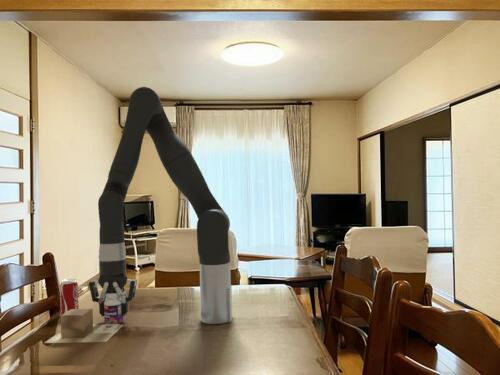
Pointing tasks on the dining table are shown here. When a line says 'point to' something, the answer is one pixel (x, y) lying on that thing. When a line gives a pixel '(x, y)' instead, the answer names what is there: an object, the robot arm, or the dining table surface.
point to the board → (89, 338)
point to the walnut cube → (76, 323)
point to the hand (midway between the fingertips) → (113, 315)
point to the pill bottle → (113, 309)
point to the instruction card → (106, 328)
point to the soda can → (68, 295)
